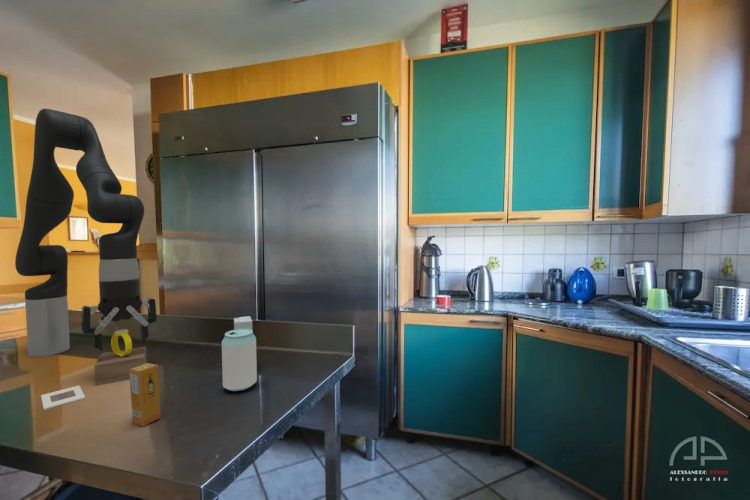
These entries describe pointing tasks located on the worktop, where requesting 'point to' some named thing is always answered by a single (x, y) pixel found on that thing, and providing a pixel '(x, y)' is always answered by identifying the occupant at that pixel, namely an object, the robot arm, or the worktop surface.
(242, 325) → the skincare box
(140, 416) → the supplement box
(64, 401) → the card
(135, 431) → the worktop surface
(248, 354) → the can
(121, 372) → the walnut block
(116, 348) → the watch
